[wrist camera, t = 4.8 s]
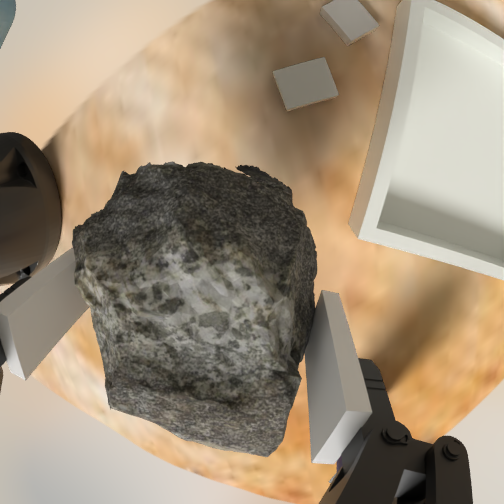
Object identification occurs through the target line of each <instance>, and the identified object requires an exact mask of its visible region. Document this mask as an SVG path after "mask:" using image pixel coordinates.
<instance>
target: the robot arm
mask: <svg viewBox="0 0 504 504" xmlns="http://www.w3.org/2000/svg"><path fill="white" fill-rule="evenodd" d="M15 11H16V2H15V0H0V48H1V46H2V44H3V42H4V39H5V37H6V35H7V33H8V31H9V29H10V27H11V25H12V23H13V20H14V16H15ZM60 231H61V206H60V199H59V193H58V188H57V185H56V181H55V178H54V175H53V172H52V170H51V168H50V165H49V163H48V161H47V160H46V158H45V156H44V155H43V153H42V152H41V150H40V149H39V148H38V147H37V146H36V144H34V142H32V141H31V140H30V139H29V138H27V137H26V136H23V135H22V134H19V133H14V132H7V133H0V286H3V285H8V284H13V285H12V286H11V287H10V288H8V289H7V290H5V291H4V293H2V294H0V391H1V385H2V379H3V370H2V367H1V366H2V365H3V364H4V362H5V361H7V363H8V366H9V369H10V372H11V373H13V374H15V375H16V376H18V377H20V378H22V379H24V380H27V378H28V377H29V376H30V375H31V373H32V372H33V371H34V370H35V369H36V367H37V366H38V365H39V364H40V363H41V361H42V360H43V359H44V358H45V357H46V355H47V354H48V353H49V352H50V351H51V350H52V348H53V347H54V346H55V345H56V344H57V343H58V341H59V340H60V339H61V338H62V337H63V336H64V334H65V333H66V332H67V331H68V330H69V329H70V328H71V327H72V325H73V324H74V323H75V322H76V321H77V320H78V319H79V318H80V317H81V315H82V314H83V313H84V312H85V311H86V310H87V309H88V308H89V307H90V306H89V305H88V304H86V303H85V301H84V300H83V298H82V296H81V294H80V293H79V291H78V289H77V287H76V286H75V281H74V272H75V268H76V261H75V255H74V249H73V248H71V249H70V250H68V251H67V252H65V253H64V254H63V255H61V256H60V257H58V258H57V259H56V260H54V261H53V262H51V263H50V264H49V262H50V261H51V260H52V258H53V256H54V254H55V252H56V249H57V246H58V242H59V238H60ZM48 264H49V265H48ZM32 276H33V277H32ZM14 283H15V284H14ZM305 364H306V378H307V392H308V407H309V424H310V442H311V463H322V464H335V462H336V461H337V460H338V459H339V457H340V456H342V465H343V466H342V467H341V468H340V470H339V471H338V472H337V473H336V474H335V475H334V476H333V478H332V479H331V480H330V481H329V483H331V484H330V486H329V488H328V489H327V491H326V493H325V494H324V496H323V498H322V499H321V501H320V502H319V504H473V499H472V486H471V478H470V468H469V460H468V454H467V451H466V448H465V446H464V445H463V444H462V442H460V441H459V440H458V439H456V438H454V437H452V436H442V437H440V438H438V439H437V440H436V441H435V443H434V444H430V443H426V442H422V441H419V440H416V439H413V438H412V436H411V434H410V431H409V430H408V429H407V428H406V427H405V426H404V425H403V424H401V423H400V422H398V421H395V417H394V414H393V411H392V407H391V404H390V401H389V398H388V395H387V391H385V389H386V388H385V385H384V382H383V379H382V376H381V373H380V370H379V369H378V367H377V366H376V365H375V364H374V363H373V361H372V360H368V359H361V358H358V356H357V353H356V349H355V346H354V342H353V339H352V335H351V332H350V329H349V325H348V322H347V319H346V315H345V312H344V309H343V306H342V302H341V299H340V296H339V293H334V292H330V291H325V290H322V291H321V294H320V297H319V300H318V302H317V305H316V308H315V313H314V318H313V326H312V329H311V333H310V337H309V342H308V345H307V347H306V350H305Z"/></svg>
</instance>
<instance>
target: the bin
mask: <svg viewBox="0 0 504 504" xmlns="http://www.w3.org/2000/svg"><path fill="white" fill-rule="evenodd" d="M348 224H349V226H350V227H351V229H352V231H353V232H354V234H355V235H356V237H357V238H358V239H361V240H365V241H368V242H372V243H376V244H380V245H383V246H387V247H391V248H395V249H398V250H402V251H405V252H409V253H413V254H416V255H420V256H423V257H427V258H431V259H434V260H438V261H441V262H444V263H448V264H451V265H455V266H458V267H462V268H465V269H468V270H472V271H475V272H478V273H482V274H485V275H488V276H491V277H495V278H498V279H501V280H504V39H503V38H501V37H499V36H498V35H496V34H495V33H493V32H492V31H490V30H489V29H487V28H485V27H484V26H482V25H480V24H479V23H477V22H475V21H474V20H472V19H470V18H468V17H466V16H465V15H463V14H461V13H459V12H457V11H455V10H453V9H451V8H450V7H448V6H446V5H444V4H442V3H439V2H437V1H435V0H402V1H401V2H400V3H399V4H398V5H397V9H396V16H395V23H394V29H393V35H392V41H391V47H390V53H389V58H388V64H387V69H386V74H385V79H384V84H383V89H382V94H381V99H380V103H379V108H378V112H377V117H376V121H375V125H374V130H373V134H372V138H371V142H370V146H369V150H368V154H367V158H366V162H365V166H364V169H363V173H362V177H361V181H360V184H359V188H358V192H357V195H356V199H355V202H354V206H353V209H352V212H351V216H350V219H349V223H348Z"/></svg>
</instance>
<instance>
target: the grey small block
mask: <svg viewBox="0 0 504 504" xmlns="http://www.w3.org/2000/svg"><path fill="white" fill-rule="evenodd" d="M273 76H274V79H275V81H276V84H277V87H278V89H279V92H280V94H281V97H282V100H283V103H284V105H285V108H286V111H291V110H294V109H297V108H301V107H304V106H307V105H311V104H314V103H318V102H322V101H325V100H329V99H333V98H336V97H337V96H338V95H339V93H338V91H337V88H336V85H335V83H334V80H333V77H332V75H331V72H330V69H329V67H328V64H327V62H326V59H325V57H322V58H318V59H314V60H310V61H307V62H303V63H299V64H296V65H292V66H289V67H285V68H282V69H279V70H275V71H273Z"/></svg>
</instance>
